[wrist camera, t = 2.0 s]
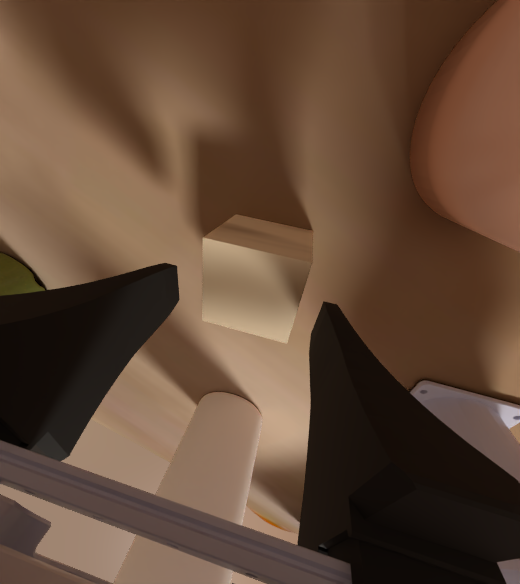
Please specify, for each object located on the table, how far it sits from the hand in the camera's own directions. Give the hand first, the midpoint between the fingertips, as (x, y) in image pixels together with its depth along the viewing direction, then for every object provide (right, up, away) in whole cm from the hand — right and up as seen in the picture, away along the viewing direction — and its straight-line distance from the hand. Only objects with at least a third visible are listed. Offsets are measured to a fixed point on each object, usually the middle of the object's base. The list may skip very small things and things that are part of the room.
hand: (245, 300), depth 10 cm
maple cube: (+1, +3, +5) cm, 6 cm away
